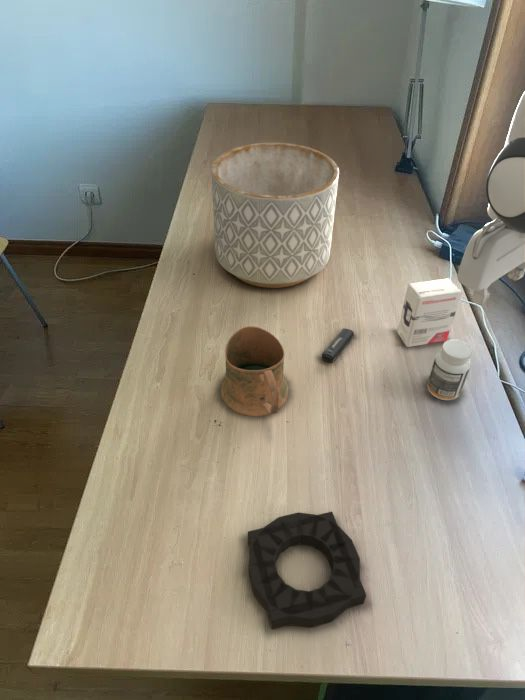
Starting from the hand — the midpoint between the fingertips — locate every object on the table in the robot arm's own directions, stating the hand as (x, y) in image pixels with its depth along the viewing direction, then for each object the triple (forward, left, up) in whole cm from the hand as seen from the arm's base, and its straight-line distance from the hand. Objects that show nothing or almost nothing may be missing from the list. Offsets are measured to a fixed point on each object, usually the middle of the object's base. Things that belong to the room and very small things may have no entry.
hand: (497, 289), depth 84 cm
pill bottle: (0, +3, -22) cm, 22 cm away
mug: (+5, +35, -22) cm, 42 cm away
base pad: (-25, +37, -21) cm, 50 cm away
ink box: (+14, 0, -22) cm, 26 cm away
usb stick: (+15, +17, -22) cm, 32 cm away
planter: (+46, +21, -22) cm, 56 cm away
